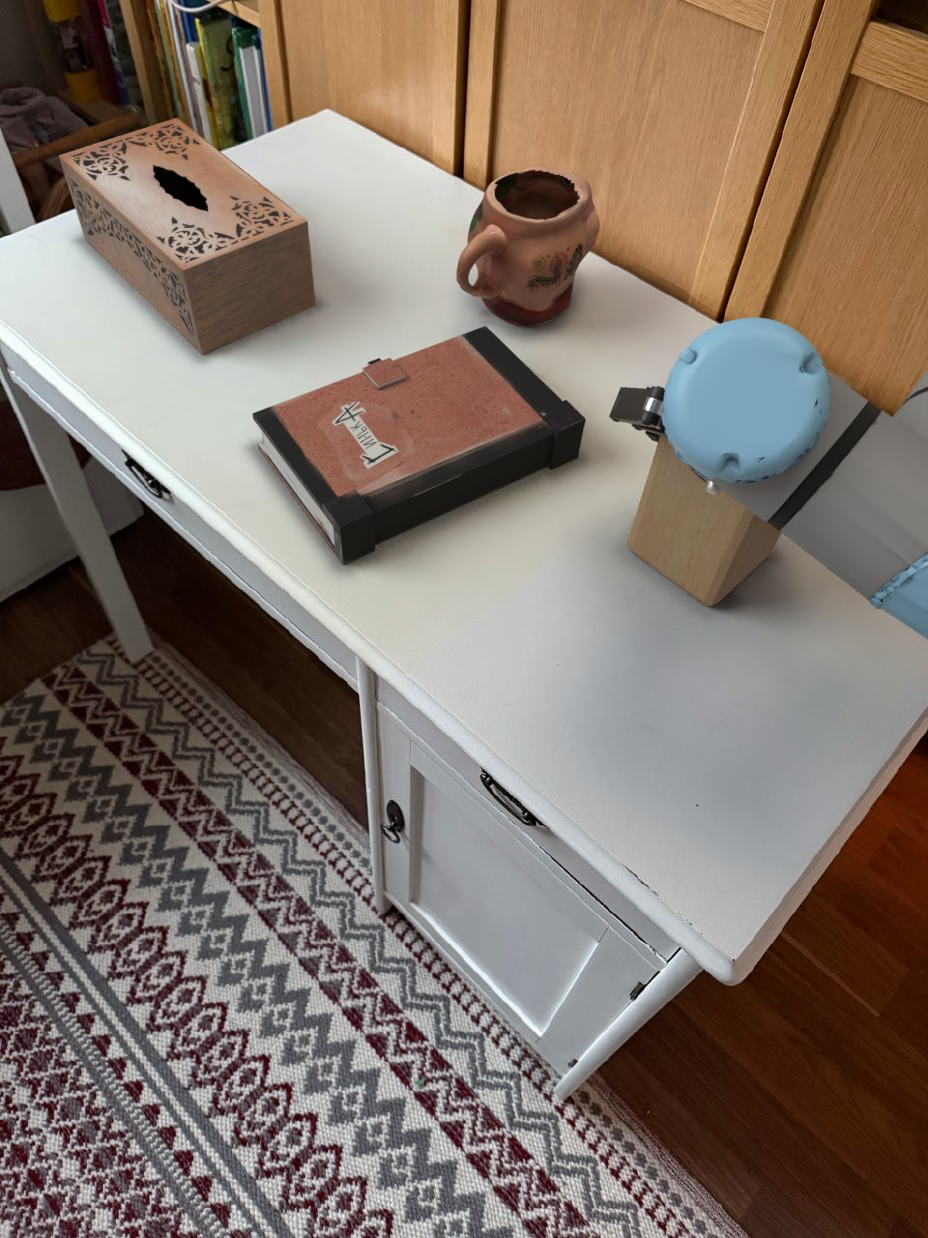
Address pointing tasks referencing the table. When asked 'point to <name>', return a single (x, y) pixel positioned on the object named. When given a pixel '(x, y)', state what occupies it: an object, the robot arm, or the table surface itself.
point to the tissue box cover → (192, 232)
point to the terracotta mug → (529, 243)
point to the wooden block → (697, 529)
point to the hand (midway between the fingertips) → (738, 454)
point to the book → (415, 439)
